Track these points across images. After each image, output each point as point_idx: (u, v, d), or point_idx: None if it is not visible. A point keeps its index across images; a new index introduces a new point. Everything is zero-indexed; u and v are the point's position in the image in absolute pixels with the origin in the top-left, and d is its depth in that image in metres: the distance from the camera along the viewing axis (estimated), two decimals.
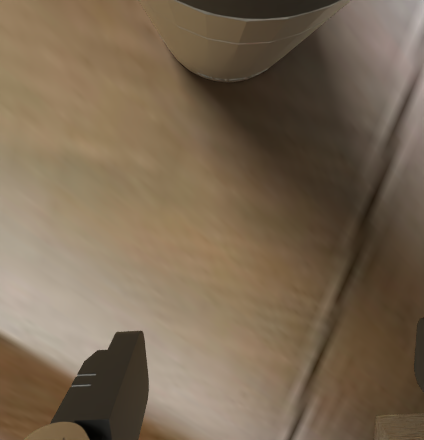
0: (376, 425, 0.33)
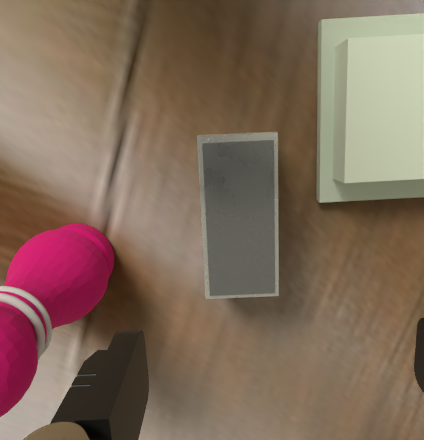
0: None
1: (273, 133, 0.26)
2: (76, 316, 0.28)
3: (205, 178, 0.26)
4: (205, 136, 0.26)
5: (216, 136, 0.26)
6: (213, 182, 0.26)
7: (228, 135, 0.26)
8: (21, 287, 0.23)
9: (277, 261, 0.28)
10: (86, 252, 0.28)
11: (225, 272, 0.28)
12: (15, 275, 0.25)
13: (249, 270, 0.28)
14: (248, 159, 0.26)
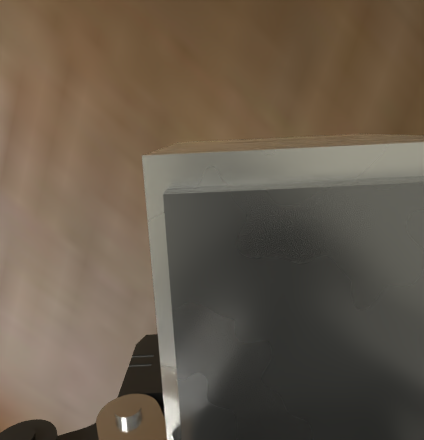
0: None
1: None
2: None
3: (182, 349, 0.06)
4: (181, 158, 0.06)
5: (232, 158, 0.06)
6: (217, 363, 0.06)
7: (286, 154, 0.06)
8: None
9: None
10: None
11: None
12: None
13: None
14: (386, 267, 0.05)
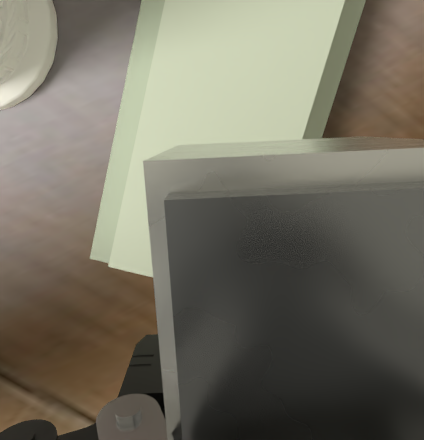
0: None
1: None
2: None
3: (183, 353, 0.06)
4: (182, 164, 0.06)
5: (232, 164, 0.06)
6: (217, 367, 0.06)
7: (287, 159, 0.06)
8: None
9: None
10: None
11: None
12: None
13: None
14: (385, 271, 0.05)
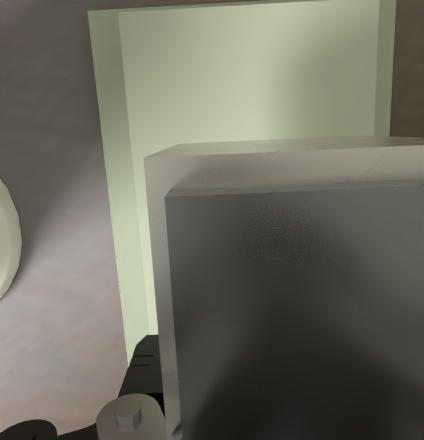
0: None
1: None
2: None
3: (183, 351, 0.06)
4: (183, 161, 0.06)
5: (233, 161, 0.06)
6: (218, 365, 0.06)
7: (288, 156, 0.06)
8: None
9: None
10: None
11: None
12: None
13: None
14: (386, 269, 0.05)
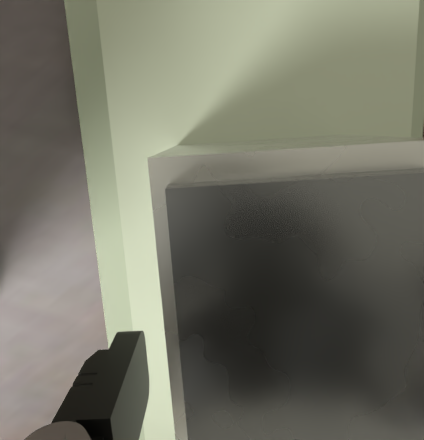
0: None
1: None
2: None
3: (182, 314, 0.07)
4: (179, 160, 0.07)
5: (220, 159, 0.07)
6: (210, 326, 0.07)
7: (264, 155, 0.07)
8: None
9: None
10: None
11: None
12: None
13: None
14: (345, 244, 0.07)
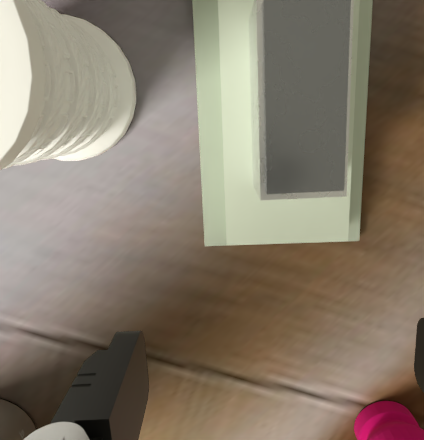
0: (249, 33, 0.27)
1: None
2: None
3: (266, 45, 0.22)
4: None
5: None
6: (275, 49, 0.22)
7: None
8: None
9: (346, 153, 0.24)
10: None
11: (286, 164, 0.24)
12: None
13: (314, 162, 0.23)
14: (319, 19, 0.21)
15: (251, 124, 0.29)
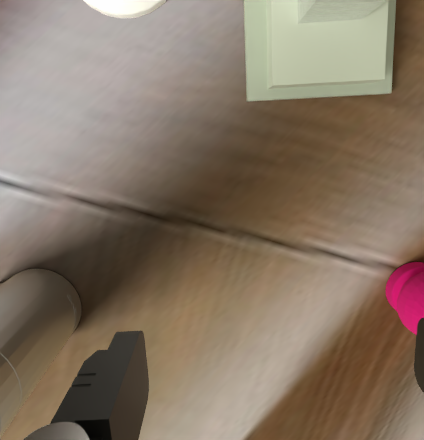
0: None
1: None
2: None
3: None
4: None
5: None
6: None
7: None
8: None
9: None
10: (422, 286, 0.37)
11: None
12: None
13: None
14: None
15: None
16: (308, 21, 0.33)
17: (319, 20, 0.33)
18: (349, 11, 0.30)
